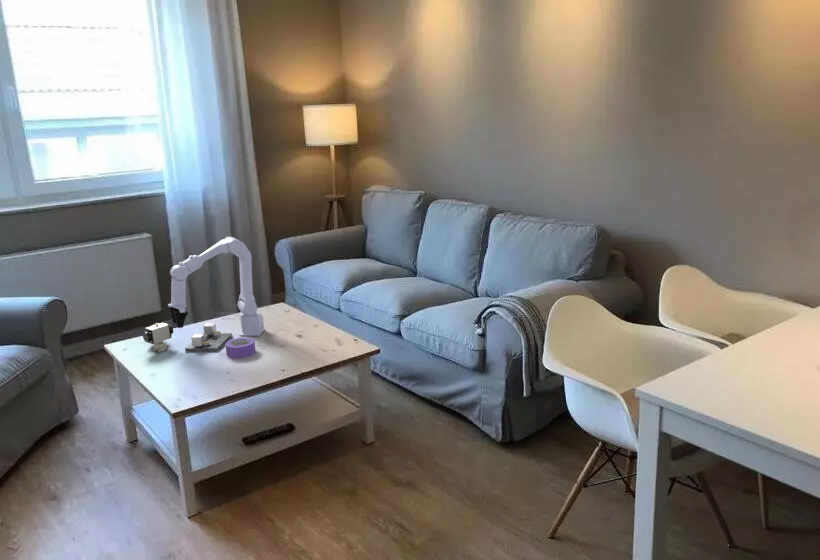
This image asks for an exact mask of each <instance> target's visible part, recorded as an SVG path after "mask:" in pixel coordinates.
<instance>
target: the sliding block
mask: <svg viewBox="0 0 820 560" xmlns="http://www.w3.org/2000/svg"><path fill="white" fill-rule="evenodd" d="M203 333H204V335H213V334H215V333H219V334H220V333H221V331H217V324H216V322H207V323H205V324H204V325H203Z"/></svg>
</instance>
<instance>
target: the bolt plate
mask: <svg viewBox="0 0 820 560" xmlns="http://www.w3.org/2000/svg"><path fill="white" fill-rule="evenodd" d="M232 338H233V333H232V332H228V333H227V332H224V333H220V334H219V333H215V334H213V335H204V332H203V333H194V335H192V336H191V338H190V339H191V342H190V343H189V344H188V345H187V346H186V347H185V348H184V350H185V352H187V353H188V352H189V353H194V352H195V353H197V352H198V353H201V352H213V353H214V352H215V353H216V352H219V351H220V350H221V348H222V347H224V346H225V344H226V342H227V341H229V340H231V339H232Z"/></svg>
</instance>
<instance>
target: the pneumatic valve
mask: <svg viewBox="0 0 820 560" xmlns="http://www.w3.org/2000/svg"><path fill="white" fill-rule="evenodd" d="M156 323H157V322H156ZM156 323H155V324H156ZM158 323H160V322H158ZM158 323H157V324H156V325H154V324H153V325H154V326H152V325H150V326H148V327H145V328H144V331H143V333H142V338H143V341H144V342H145V343H148V344H151V345H153V346H152V347H153V351H154V352H158V353H161V352H164V351H166V350H167V349H168V344H167V342H166V340H170V339H172V335H173V334H174V328H173V326H172V325H171V324H169V323H167V322H161V323H160V324H158Z"/></svg>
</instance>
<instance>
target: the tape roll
mask: <svg viewBox="0 0 820 560" xmlns="http://www.w3.org/2000/svg"><path fill="white" fill-rule="evenodd" d="M224 346H225V354H226V357H227V356H228V357H227V358H230V359H234V358H238V359H244V358H245V359H246V358H248V357H251V356H253V355H255V354H256V344H255V339H254V338H252V337H246V336H244V337H243V336H242V337H237V338H233V339H232V338H231V339H229V340H228V341H227V342H226V343H225V344H224Z"/></svg>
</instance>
